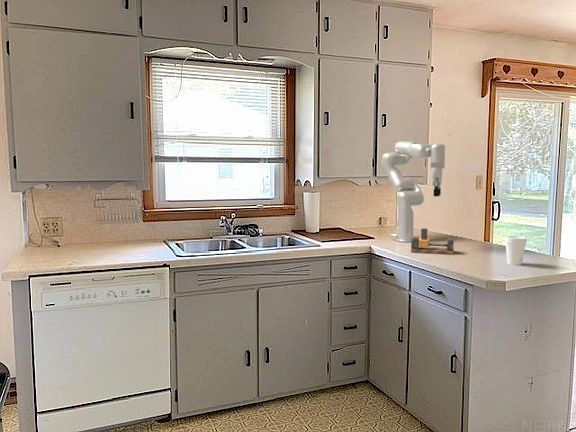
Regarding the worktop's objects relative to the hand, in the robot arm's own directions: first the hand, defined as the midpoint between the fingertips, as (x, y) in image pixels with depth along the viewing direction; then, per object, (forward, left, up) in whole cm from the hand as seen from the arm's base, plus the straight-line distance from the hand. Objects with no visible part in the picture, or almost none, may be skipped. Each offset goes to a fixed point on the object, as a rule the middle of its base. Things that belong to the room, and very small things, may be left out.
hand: (437, 195), depth 274 cm
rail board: (-1, -14, -30) cm, 33 cm away
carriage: (-5, -14, -28) cm, 32 cm away
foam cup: (+39, -35, -31) cm, 61 cm away
